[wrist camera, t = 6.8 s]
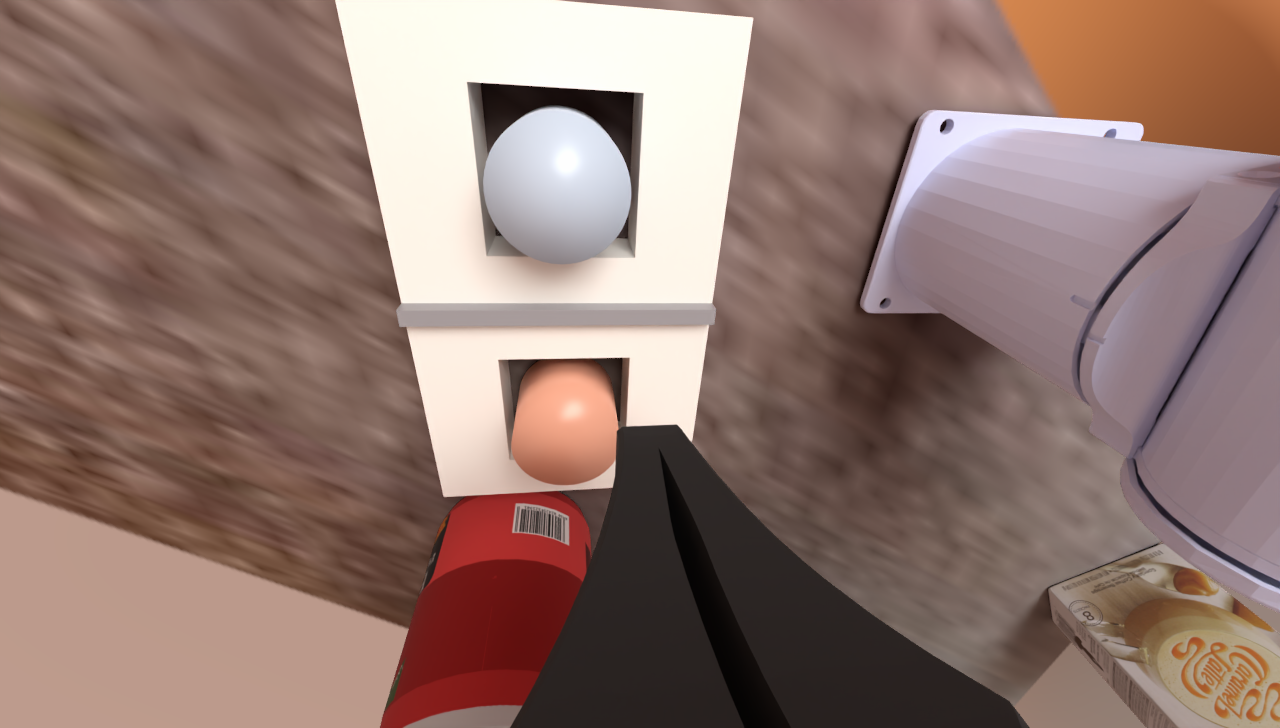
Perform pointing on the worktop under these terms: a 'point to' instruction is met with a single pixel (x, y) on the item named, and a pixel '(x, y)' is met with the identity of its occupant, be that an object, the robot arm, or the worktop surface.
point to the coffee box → (1172, 643)
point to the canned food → (489, 610)
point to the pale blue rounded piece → (557, 186)
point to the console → (494, 269)
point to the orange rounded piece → (565, 421)
